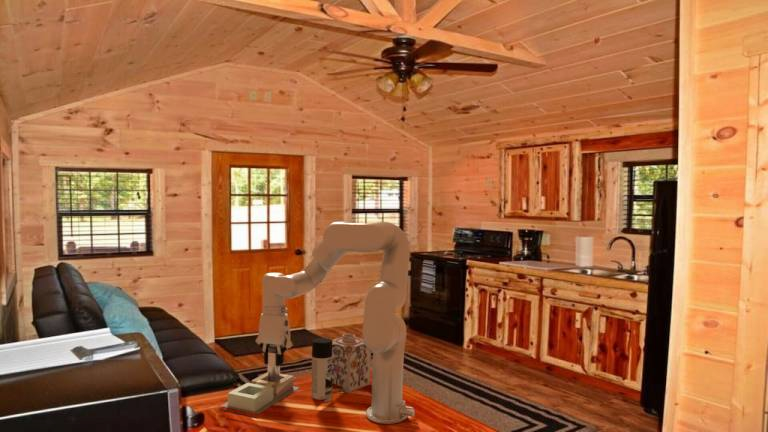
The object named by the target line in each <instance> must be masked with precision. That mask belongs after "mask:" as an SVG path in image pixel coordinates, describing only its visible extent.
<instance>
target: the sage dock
mask: <svg viewBox="0 0 768 432" xmlns="http://www.w3.org/2000/svg"><path fill="white" fill-rule="evenodd" d="M272 400H273V388H272V387H267V386H262V385H257V384H252V383H251V382H246V383H245V384H242V385H241V386H238V387H237V388H235V389H232V390H231V391H229V392H227V402H228V406H231V407H236V408H240V409H245V410H249V411H254V412H255V411H256V410H258V409H260V408H261V407H263V406H264V405H266V404H268V403H269V402H271V401H272Z"/></svg>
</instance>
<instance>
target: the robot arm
mask: <svg viewBox="0 0 768 432" xmlns="http://www.w3.org/2000/svg"><path fill="white" fill-rule="evenodd" d="M379 251H383V252H382V253H383V256H382V259H381V263H380V271H379V280H378V284H375V285H374V286H373V287H372V288H371V289H370V290H369V291H368V293H366V297H365V301H364V309H363V310H364V311H363V322H362V339H363V342H364V344H365V346H366V348H367V349H368V350H369V351H371V353H372V365H371V370H372V371H371V403H370V404H371V406H369V407H368V408H367V409H366V411H365V414H366V415H365V416H366V417H367V419H369V420H370V421H371V422H374V423H376V424H377V423H378V424H384V425H389V424H391V425H393V424H397V423H401V422H403V421H405V420H406V419H407V417H412V418H413V417H414V416H415V414H416V413H415V409H414V407H412V406H407V405H406V400H404V399H403V386H404V385H403V381H404V364H405V363H404V361H405V360H404V357H405V348H406V341H407V326H406V323H405V321H404V319H403V318H402V317H401V316H400V315H398V314H396V312H397V311H398V310H399V311H400V309H401V308H403V306H405V303H406V302H407V301H406V300H407V290H408V279H409V265H410V253H411V252H410V243H409V239H408V236H407V235H406V234H405V232H404V231H403V230H402V228H401V227H399V226H398V225H396V224H394V223H391V222H388V221H378V222H371V223H355V222H353V221H350V220H343V221H334V222H332V223H330V224H329V225H327V226H326V227H325V229H324V231H323V234H322V239H321V240H320V242H319V243H317V244H316V246H314V247H313V248H312V251H311V254H312V257H313V258H312V259H311V260H310V262H309V263H308V264H307V265H306V266H305V267H304V268H302V270H300V271H299V272H294V273H291V274H287V275H285V274H284V273H282V272H268V273H265V274H264V275H263V276H262V307H261V308H262V309H261V310H262V313H261V314H260V318H259V324H258V335H257V337H256V339H255V343H256V344H257V345H258V346H259V347H260V348H261V350H262V353H263V360H264V361H263V362H264V365H268V346H271V345H277V351H278V354H277V355H276V366H280V367H281V366H282V365H283V364H284V358H285V357H284V355H285V352H286V351H287V350H288V349H290V348H291V347H293V346H294V345H293V342H292V341H291V325H290V318H289V315H288V312H289V308H288V307H287V305H286V299H294V298H297V297H300V296H302V295H305V294H308V293H310V292H311V291H312V290H314V289H315V288H316V287H317V286H318V285H319V284H320V283H322V282H323V281H324V279H325V278H326V277H327V276H328V274H329V273H330V272H331V270H332V268H333V267H334V266H335V265H337V263H338V262H339V261H341V259H343V257H345V256H346V255H347V254H348V253H349V252H351V253H352V252H355V253H376V252H379ZM285 344H286V345H285Z"/></svg>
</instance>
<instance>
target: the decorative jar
mask: <svg viewBox="0 0 768 432" xmlns="http://www.w3.org/2000/svg"><path fill="white" fill-rule="evenodd" d="M371 361H372V352H371V351H369V350H368V349H367V348H366V346H365V344H364V342H363V338H360V337H356V334H353V333H344V334H342V336H341V337H338V338H335V339H333V340H332V385H333V384H334V385H335V386H339V387H341V388H340V389H339V391H342V392H343V393H346V394H350V393H352V392H355V391H357V390H361V389H362V388H365V387H367V386H369V385H371V376H372V371H371V370H372V362H371Z"/></svg>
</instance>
